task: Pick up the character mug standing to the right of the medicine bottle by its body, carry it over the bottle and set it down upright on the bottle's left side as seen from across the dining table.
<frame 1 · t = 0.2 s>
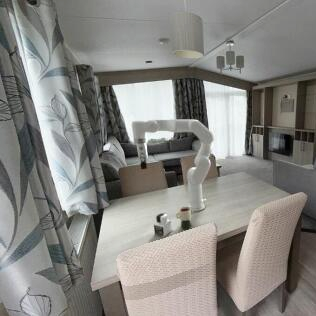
hand: (144, 166, 128), 37 cm above the table, tool pointing down, fingers open, 9 cm apart
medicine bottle: (163, 232, 121), on the table
character mug: (186, 227, 126), on the table
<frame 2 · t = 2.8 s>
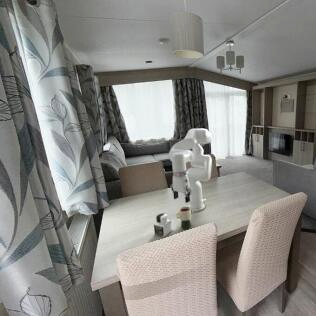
hand: (181, 200, 119), 20 cm above the table, tool pointing down, fingers open, 9 cm apart
nothing on the table moved.
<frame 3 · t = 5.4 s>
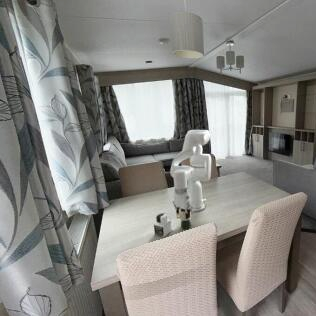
hand: (183, 216, 122), 9 cm above the table, tool pointing down, fingers closed on character mug, 7 cm apart
character mug: (186, 227, 126), on the table, touching gripper
everything else where it was.
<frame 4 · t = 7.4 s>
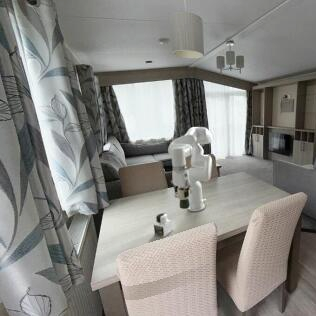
hand: (181, 195, 119), 23 cm above the table, tool pointing down, fingers closed on character mug, 7 cm apart
character mug: (184, 207, 123), point 14 cm above the table, touching gripper
everything else where it was.
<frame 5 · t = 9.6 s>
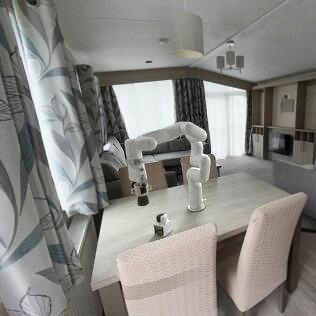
hand: (139, 191, 111), 29 cm above the table, tool pointing down, fingers closed on character mug, 7 cm apart
character mug: (143, 205, 114), point 20 cm above the table, touching gripper
everything else where it was.
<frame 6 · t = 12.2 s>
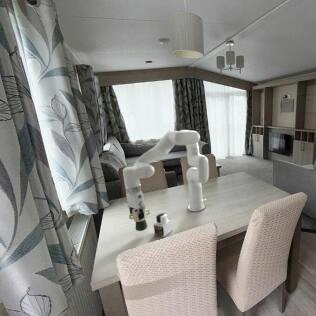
hand: (137, 216, 114), 13 cm above the table, tool pointing down, fingers closed on character mug, 7 cm apart
character mug: (141, 229, 117), point 4 cm above the table, touching gripper
everything else where it was.
when the fingers open (9 cm above the table, at t = 14.1 s): character mug stays where it is, on the table.
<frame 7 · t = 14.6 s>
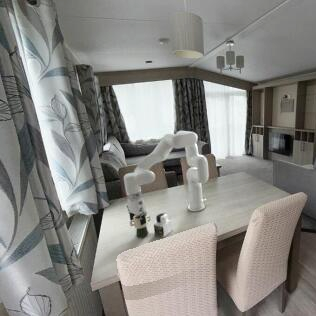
hand: (138, 221, 115), 10 cm above the table, tool pointing down, fingers open, 9 cm apart
character mug: (142, 235, 118), on the table
everything else where it was.
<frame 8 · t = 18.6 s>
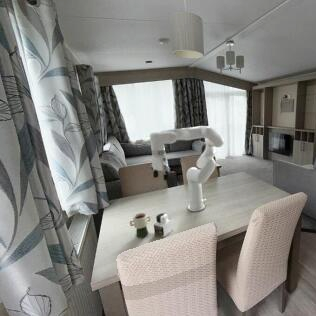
hand: (161, 178, 126), 30 cm above the table, tool pointing down, fingers open, 9 cm apart
nothing on the table moved.
at the end: character mug inside the target area (0.1 cm from its centre), on the table; character mug tilted 0°; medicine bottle moved 0.2 cm from its start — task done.
